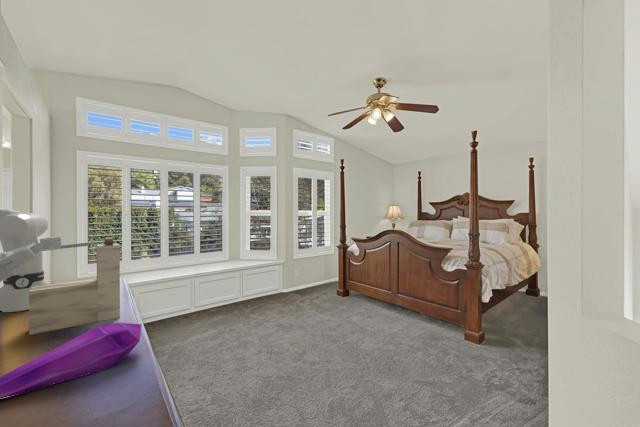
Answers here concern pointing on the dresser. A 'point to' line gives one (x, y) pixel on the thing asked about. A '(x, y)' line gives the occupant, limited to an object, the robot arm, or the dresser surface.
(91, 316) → the maple stand
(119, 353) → the crystal
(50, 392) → the dresser surface
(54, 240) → the steel link
